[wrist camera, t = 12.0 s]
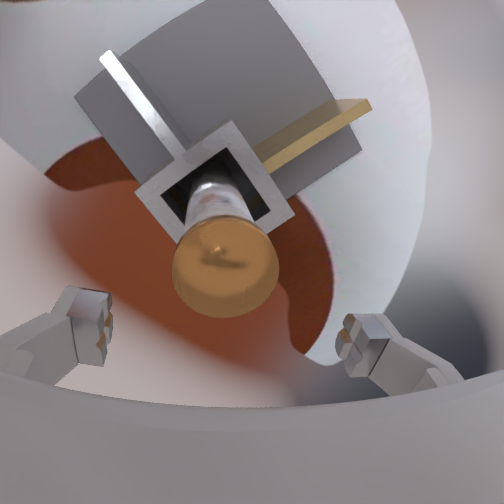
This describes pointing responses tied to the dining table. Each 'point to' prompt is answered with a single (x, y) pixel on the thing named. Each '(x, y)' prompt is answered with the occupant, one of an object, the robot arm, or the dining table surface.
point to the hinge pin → (222, 249)
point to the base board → (220, 91)
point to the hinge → (217, 138)
